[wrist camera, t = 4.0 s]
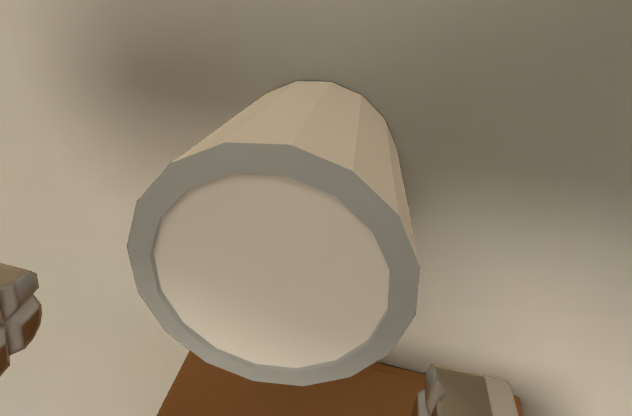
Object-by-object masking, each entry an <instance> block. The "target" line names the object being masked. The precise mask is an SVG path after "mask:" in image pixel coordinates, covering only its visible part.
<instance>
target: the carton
mask: <svg viewBox="0 0 632 416" xmlns="http://www.w3.org/2000/svg"><path fill="white" fill-rule="evenodd" d="M424 377H425V375H424V374H420V373H416V372H412V371H408V370H404V369H400V368H396V367H392V366H388V365H384V364H380V363H376V362H375V363H373V364H371V365H370V366H368V367H366V368H365V369H363V370H361V371H360V372H358V373H356V374H355V375H353V376H352V377H348V378H343V379H338V380H333V381H328V382H323V383H317V384H312V385H307V386H296V385H286V384H277V383H267V382H258V381H252V380H249V379H247V378H244V377H242V376H239V375H237V374H234V373H232V372H229V371H227V370H224V369H222V368H219V367H216V366H214V365H211V364H209V363H206V362H205V361H204V360H202V359H201V358H200V357H198V356H197V355H196V354H194V353H193V352H192V351H189V353H188V355H187V357H186V359H185V361H184V363H183V365H182V367H181V369H180V371H179V373H178V375H177V377H176V379H175V381H174V383H173V384H172V386H171V388H170V390H169V392H168V394H167V396H166V398H165V400H164V402H163V404H162V406H161V408H160V410H159V412H158V414H157V416H411V415H412V410H413V406H414V402H415V400H416V397H417V394H418V392H420V391H422V390H424V389H425V383H424ZM514 399H515V403H516V407H517V411H518V415H519V416H523V412H522V408H521V403H520V399H519V398H518V397H514Z"/></svg>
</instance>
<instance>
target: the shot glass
mask: <svg viewBox="0 0 632 416" xmlns="http://www.w3.org/2000/svg"><path fill="white" fill-rule="evenodd" d="M127 250H128V254H129V258H130V262H131V266H132V270H133V274H134V278H135V282H136V286H137V291H138V293H139V294H140V296H141V297H142V299H143V300H144V301H145V303H146V304H147V306H148V307H149V309H150V310H151V311H152V313H153V314H154V316H155V317H156V319H157V320H158V321H159V323H160V324H161V326H162V327H163V328H164V330H165V331H166V332H167V333H168V334H169V335H171V336H172V337H173V338H175V339H176V340H177V341H179V342H180V343H181V344H182V345H184V346H185V347H186V348H188V349H189V350H190V351H192V352H193V353H194V354H196V355H197V356H198V357H200V358H201V359H202V360H204V361H205V362H206V363H209V364H211V365H214V366H216V367H219V368H222V369H224V370H227V371H229V372H232V373H234V374H237V375H239V376H242V377H244V378H247V379H249V380H252V381H258V382H267V383H277V384H286V385H296V386H307V385H312V384H317V383H323V382H328V381H333V380H338V379H343V378H348V377H352V376H353V375H355V374H356V373H358V372H360V371H361V370H363V369H365V368H366V367H368V366H370V365H371V364H373V363H375V362H376V361H378V360H379V359H381V358H383V357H384V356H386V355H388V354H389V353H391V351H392V350H393V348H394V347H395V345H396V344H397V342H398V340H399V339H400V337H401V336H402V334H403V333H404V331H405V330H406V328H407V327H408V325H409V324H410V322H411V321H412V319H413V318H414V316H415V315H416V304H417V293H418V282H419V270H420V265H419V260H418V255H417V250H416V245H415V240H414V234H413V229H412V224H411V219H410V214H409V209H408V204H407V199H406V194H405V189H404V184H403V179H402V174H401V169H400V164H399V159H398V154H397V149H396V146H395V143H394V141H393V138H392V136H391V133H390V131H389V128H388V125H387V123H386V120H385V119H384V118H383V117H382V116H381V115H380V114H379V113H378V111H377V110H376V109H375V108H374V107H373V106H372V105H371V104H370V103H369V102H368V101H367V100H366V99H365V98H364V97H363V96H362V95H360V94H357V93H355V92H353V91H350V90H348V89H346V88H343V87H341V86H339V85H337V84H334V83H332V82H317V81H295V82H293V83H291V84H288V85H286V86H283V87H281V88H278V89H276V90H273V91H271V92H269V93H266V94H265V95H264V96H262V97H261V98H259V99H258V100H257V101H255V102H254V103H253V104H251V105H250V106H248V107H247V108H246V109H244V110H243V111H242V112H240V113H239V114H237V115H236V116H235V117H233V118H232V119H231V120H229V121H228V122H227V123H225V124H224V125H222V126H221V127H220V128H218V129H217V130H216V131H214V132H213V133H211V134H210V135H209V136H207V137H206V138H205V139H203V140H202V141H200V142H199V143H198V144H196V145H195V146H194V147H192V148H191V149H189V150H188V151H187V152H185V153H184V154H183V155H181V156H180V157H178V158H177V159H176V160H174V161H173V162H172V163H170V164H169V166H168V167H167V168H166V169H165V170H164V171H163V172H162V173H161V175H160V176H159V177H158V178H157V179H156V180H155V181H154V182H153V184H152V185H151V186H150V187H149V188H148V189H147V190H146V191H145V192H144V194H143V195H142V196H141V197H140V198H139V199H138V200H137V203H136V207H135V212H134V216H133V221H132V225H131V230H130V234H129V239H128V243H127Z"/></svg>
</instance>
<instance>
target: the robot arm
mask: <svg viewBox="0 0 632 416" xmlns="http://www.w3.org/2000/svg"><path fill="white" fill-rule="evenodd" d="M38 288H39V285H38V279H37V274H35V273H33V272H32V271H29V270H25V269H21V268H17V267H13V266H10V265H6V264H2V263H0V376H1V375H2V374H3V373H4V371H5V370H6V369H7V368H8V367H9V366H10V355H12V354H14V353H16V352H18V351H21V350H23V349H25V348H26V347H27V345H28V344H29V343H30V342H31V341H32V339H33V338H34V336H35V334H36V332H37V330H38V328H39V326H40V323H41V316H42V309H41V304H40V302H39V301H38V300H37V299H36V297H35V296H34V295H33V293H34V292H35V291H36V290H37V289H38ZM424 383H425V389H424V390H422V391H420V392H418V394H417V397H416V400H415V402H414V406H413V410H412V415H411V416H519V415H518V411H517V407H516V403H515V399H514V396H513V392H512V388H511V385H510V384H509V382H508V381H507V380H502V379H498V378H493V377H489V376H484V375H479V374H474V373H470V372H465V371H461V370H456V369H452V368H447V367H443V366H438V365H434V364H431V365H430V366H429V368H428V370H427V372H426V374H425V377H424Z"/></svg>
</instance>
